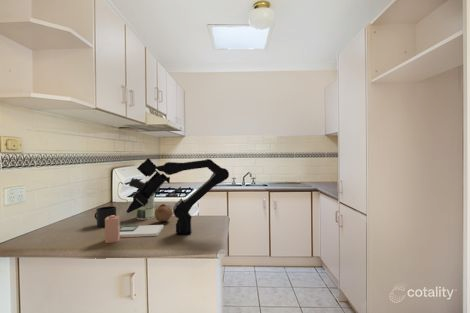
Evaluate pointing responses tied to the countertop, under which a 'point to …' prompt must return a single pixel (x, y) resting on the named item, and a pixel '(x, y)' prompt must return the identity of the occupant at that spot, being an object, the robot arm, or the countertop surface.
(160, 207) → the onion
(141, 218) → the coffee can
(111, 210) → the mug
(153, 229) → the build board
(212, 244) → the countertop surface
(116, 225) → the pillar
